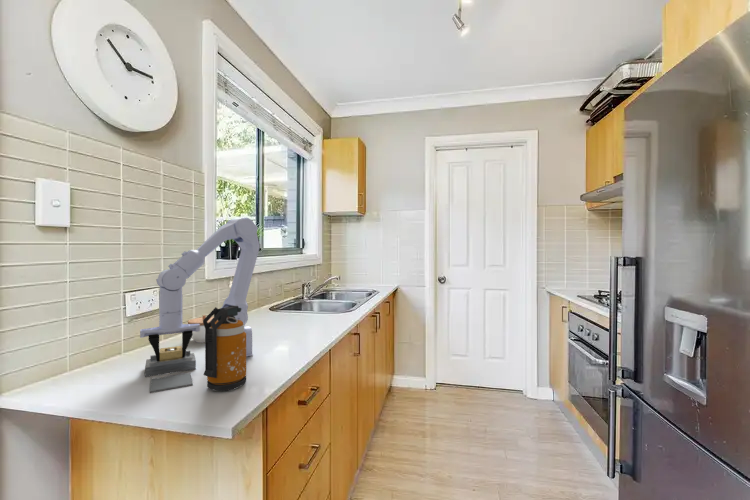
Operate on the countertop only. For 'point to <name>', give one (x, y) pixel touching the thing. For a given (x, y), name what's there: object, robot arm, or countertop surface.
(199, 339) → the lidded jar
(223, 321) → the canister
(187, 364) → the block
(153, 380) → the rubber mat
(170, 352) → the brass square ring
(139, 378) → the countertop surface
